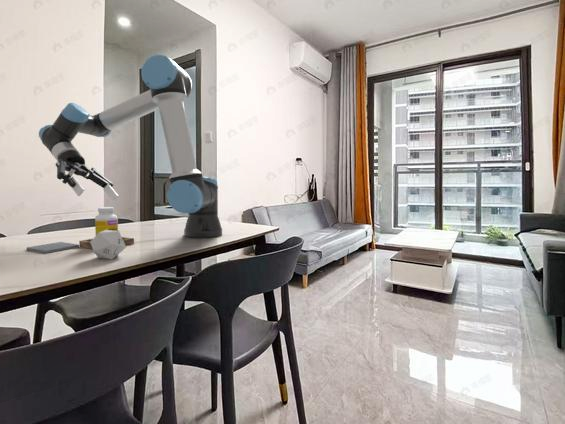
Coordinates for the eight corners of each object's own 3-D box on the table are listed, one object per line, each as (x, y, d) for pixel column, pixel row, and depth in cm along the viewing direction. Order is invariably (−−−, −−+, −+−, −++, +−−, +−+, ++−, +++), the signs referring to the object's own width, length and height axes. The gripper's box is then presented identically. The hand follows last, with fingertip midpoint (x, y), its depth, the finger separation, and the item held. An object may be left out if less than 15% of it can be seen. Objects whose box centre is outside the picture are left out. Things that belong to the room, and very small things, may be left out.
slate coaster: (79, 247, 102) (79, 244, 102) (45, 253, 93) (45, 250, 93) (60, 244, 106) (60, 241, 106) (26, 249, 97) (26, 247, 97)
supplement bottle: (108, 248, 101) (107, 208, 100) (91, 246, 102) (89, 208, 101) (123, 243, 108) (121, 207, 106) (106, 242, 109) (104, 206, 107)
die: (92, 265, 83) (115, 237, 83) (77, 246, 87) (99, 219, 87) (117, 268, 91) (137, 242, 91) (102, 251, 94) (122, 225, 94)
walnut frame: (134, 243, 108) (133, 238, 108) (103, 250, 97) (102, 244, 97) (111, 240, 112) (111, 235, 112) (79, 246, 102) (79, 240, 102)
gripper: (93, 172, 124) (122, 207, 118) (25, 156, 101) (57, 199, 95) (104, 158, 123) (133, 193, 117) (38, 138, 100) (71, 180, 93)
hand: (99, 195), depth 106 cm, fingers open, 13 cm apart
